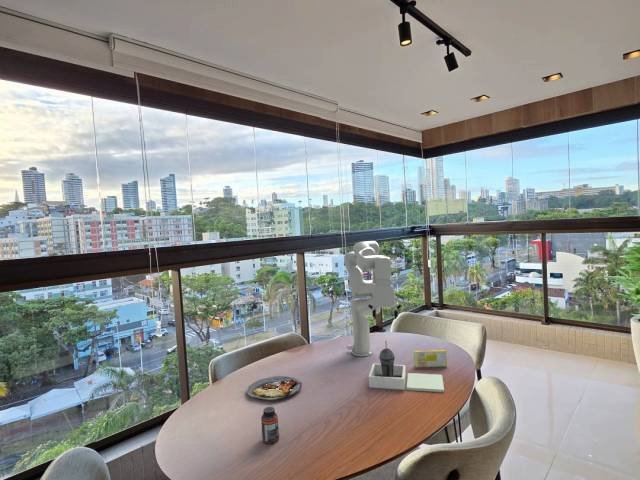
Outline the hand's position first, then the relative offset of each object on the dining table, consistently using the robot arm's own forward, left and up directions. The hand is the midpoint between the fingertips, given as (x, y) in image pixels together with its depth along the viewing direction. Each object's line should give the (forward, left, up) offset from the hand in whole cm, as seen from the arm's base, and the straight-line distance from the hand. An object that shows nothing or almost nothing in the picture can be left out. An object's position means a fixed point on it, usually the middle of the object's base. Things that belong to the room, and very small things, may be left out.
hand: (385, 318), depth 172 cm
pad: (+17, 0, -30) cm, 35 cm away
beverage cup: (0, 0, -31) cm, 31 cm away
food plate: (-51, -18, -31) cm, 62 cm away
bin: (0, 0, -30) cm, 30 cm away
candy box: (+20, +21, -31) cm, 42 cm away
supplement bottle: (-37, -55, -31) cm, 73 cm away
